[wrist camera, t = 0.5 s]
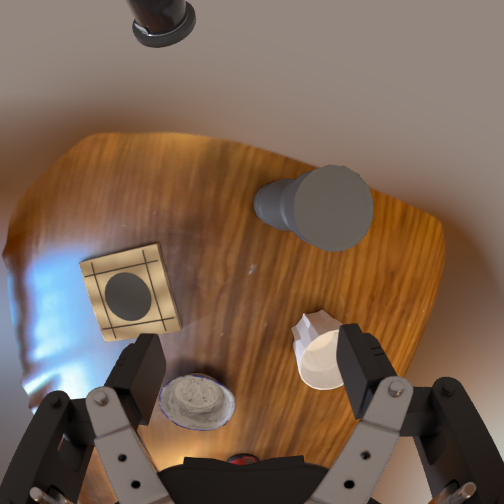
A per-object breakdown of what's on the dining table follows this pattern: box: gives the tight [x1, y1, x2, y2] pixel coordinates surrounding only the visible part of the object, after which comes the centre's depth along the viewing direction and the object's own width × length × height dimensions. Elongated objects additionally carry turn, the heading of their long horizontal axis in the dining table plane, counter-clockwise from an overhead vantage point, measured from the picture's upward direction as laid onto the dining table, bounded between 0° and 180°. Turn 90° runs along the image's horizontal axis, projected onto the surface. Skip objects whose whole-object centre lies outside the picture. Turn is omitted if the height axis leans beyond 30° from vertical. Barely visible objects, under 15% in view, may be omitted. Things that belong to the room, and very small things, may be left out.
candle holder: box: [254, 165, 374, 251], centre depth 30 cm, size 6×6×25 cm
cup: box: [291, 309, 344, 390], centre depth 42 cm, size 10×10×10 cm
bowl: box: [159, 373, 236, 431], centre depth 45 cm, size 13×13×5 cm
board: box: [79, 243, 182, 342], centre depth 42 cm, size 14×14×2 cm
